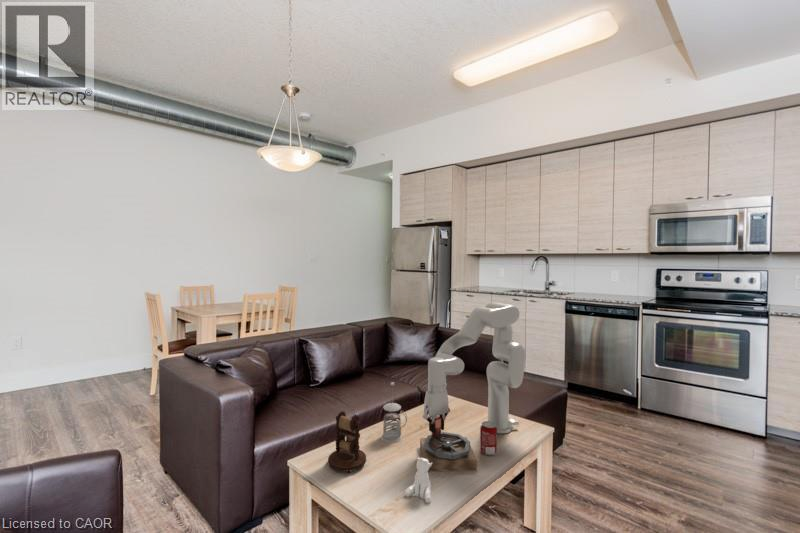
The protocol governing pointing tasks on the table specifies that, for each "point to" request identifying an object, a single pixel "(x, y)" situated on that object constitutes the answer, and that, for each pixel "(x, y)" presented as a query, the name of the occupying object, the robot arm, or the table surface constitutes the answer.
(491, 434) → the soda can
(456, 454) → the handwheel
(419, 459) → the sitting furry creature
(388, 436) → the french press
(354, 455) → the scroll
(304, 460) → the table surface
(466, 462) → the block
